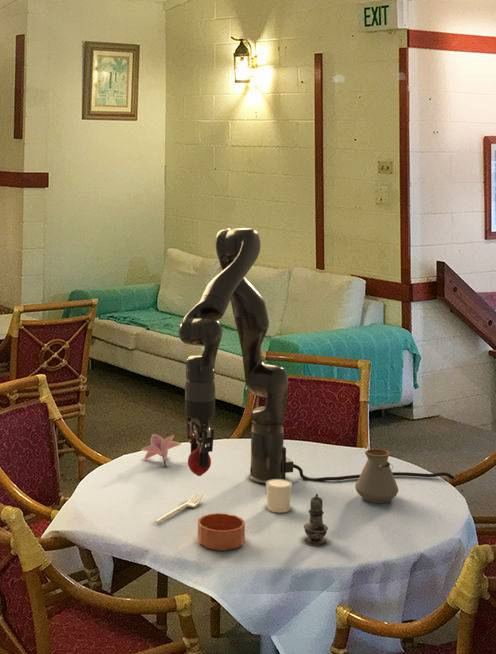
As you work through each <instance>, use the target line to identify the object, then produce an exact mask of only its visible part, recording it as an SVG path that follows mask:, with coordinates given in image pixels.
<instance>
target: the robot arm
mask: <svg viewBox="0 0 496 654" xmlns="http://www.w3.org/2000/svg"><path fill="white" fill-rule="evenodd" d="M261 246H262V245H261V238H260V235H259V233H258V231H257V230H256V229H253V228H246V227H243V228H224V229H220V230H219V231H218V232H217V233H216V237H215V251H216V255H217V259H218V262H219V265H220V268H221V271H220V272H219V273H218V274H216V275H215V276H214V277H213V278H211V280H210V281H209V282H208V283H207V285H206V286H205V288H204V290H203V292H202V294H201V296H200V299H199V301H198V302H197V303H196V304H195V305H194V306H193V307H192V308H191V310H190V311H188V312H187V313H186V315H185V316H184V317H183V318H182V320H181V322H180V324H179V327H178V336H179V339H180V341H181V342H182V343H183V344H185V345H189V346H197V347H204V348H203V352H202V353H195V354H191V355H189V356H188V357H187V358H186V362H185V385H184V415H185V416H186V438H187V440H188V442H189V444H190V453H191V452H192V451H194V450H195V449H197V447H198V445H199V466H200V467H207V466H208V462H209V456H210V454H209V453H211V452H213V449H214V434H215V431H214V428H211V426H210V423H209V419H211V418H213V417H215V415H216V384H215V371H216V370H215V366H216V359H217V355H218V350H219V347H220V344H221V340H222V336H223V327H222V324H221V322H220V321H219V320H221V319H222V318H223V317H224V315H225V313H226V310H227V309H228V306H229V304H230V303H231V310H232V315H233V318H234V323H235V328H236V331H237V334H238V340H239V345H240V350H241V356H242V364H243V373H244V380H245V384H246V387H247V390H248V391H249V393H251V394H252V395H254V396H259V397H262V398H266V400H265V405H263V406H258V407H255V408H253V409H252V410H251V420H250V421H251V424H250V425H251V427H250V434H251V435H250V467H249V479H250V480H251V481H252V482H254V483H258V484H264V485H266V482H267V481H268V480H271V479H283V480H286V477H287V475H286V474H287V473H288V474H289V473H294V469H296V470H298V472H299V476H300V478H301V479H302V480H305V481H310V482H311V481H312V482H327V481H342V480H343V481H345V480H353V479H359V477H360V475H361V473H360V474H350V475H342V476H341V475H340V476H322V477H308V476H307V475H305V474H304V472H303V468H301V467H300V466H299V465H298V464H295V463H294V461H293V460H292V459H290V458H289V457H288V456H287V448H286V447H285V446H284V441H285V440H284V439H285V438H284V433H285V432H284V431H285V415H286V411H287V406H288V405H287V404H288V389H289V376H288V375H289V374H288V372H287V371H286V369H285V368H284V367H282V366H278V365H273V364H268V363H265V362H264V360H263V355H262V344H263V342H264V340H265V338H266V336H267V333H268V330H269V326H270V320H269V314H268V309H267V305H266V301H265V299H264V297H263V296H262V295H261V294H260V292H259V291H258V290H257V289H256V288H255V286H254V285H253V284H251V282H250V281H249V280H248V279H247V278H246V276H247V274H248V273H249V272H250V270H251V268H252V267H253V265H254V264H255V263H256V261H257V259H258V258H259V255H260V252H261ZM392 473H393V476H394V477H397V476H398V477H399V476H400V477H419V478H436V477H448V478H449V479H450V480H455V479H456V478H455V476H453V474H451V473H449V472H444V471H443V472H434V473H423V472H422V473H421V472H405V471H404V472H403V471H392Z"/></svg>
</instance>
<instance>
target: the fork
mask: <svg viewBox="0 0 496 654" xmlns="http://www.w3.org/2000/svg"><path fill="white" fill-rule="evenodd" d="M203 497H204V494H199V493H194V494H193V495H192V497H190V499H189V500H187V501H186V502H184V503H182V504H181V505H179V506H177V507H176V508H174V509H172V510H171V511H169V512H168V513H165V514H164V515H162V516H161V517H159V518H157V519H156V520H155V523H156V524H159V523H160V522H162V521H164V520H166V519H167V518H169V517H171V516H173V515H175V514H176V513H179V512H180V511H181V510H183V509H186V508H187V507H189V508H196V507H198V505H199V504H200V502H201V501H202V499H203Z"/></svg>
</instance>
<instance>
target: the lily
mask: <svg viewBox="0 0 496 654" xmlns="http://www.w3.org/2000/svg"><path fill="white" fill-rule="evenodd" d="M174 437H175V434H172V435H169V436H167V437H165V438H164V437H162V436H160V435H159V434H156V433H152V434H151V436H150V445H147V446H144V447H142V448H140V451H144V452H146V454H145V455H144V458H143V459H144V461H146V460H148V459H150V458H152V457H155V456H156V455H158V456H160V457H162V460H163V463H164V467H167V465H166V460H165V459H167V458H168V454H169V450H170V449H173V448H175V447H176V448H177V447H179V446H181V445H182V443H181V442H179V441H176V440H174Z"/></svg>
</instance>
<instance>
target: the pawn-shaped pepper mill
mask: <svg viewBox="0 0 496 654" xmlns="http://www.w3.org/2000/svg"><path fill="white" fill-rule="evenodd" d="M309 507H310V508H309V510H308V513H309V521H308V522H306V523H305V524H303V529H304V532H305V535H306V536H307V537H305V538H304V540H303V541H304V543H305V544H307V545H309V546H315V547H320V546H324V545H326V544H327V540H326V539H325V538H324V537H326V535H327V532H328V530H329V527H328V525H327V524H325V523H324V520H323V515H324V514H325V512H324V510H323V499H322V498H321V497H320V496H319V494H318V493H315V496H313V497H311V499H310V506H309Z"/></svg>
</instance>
